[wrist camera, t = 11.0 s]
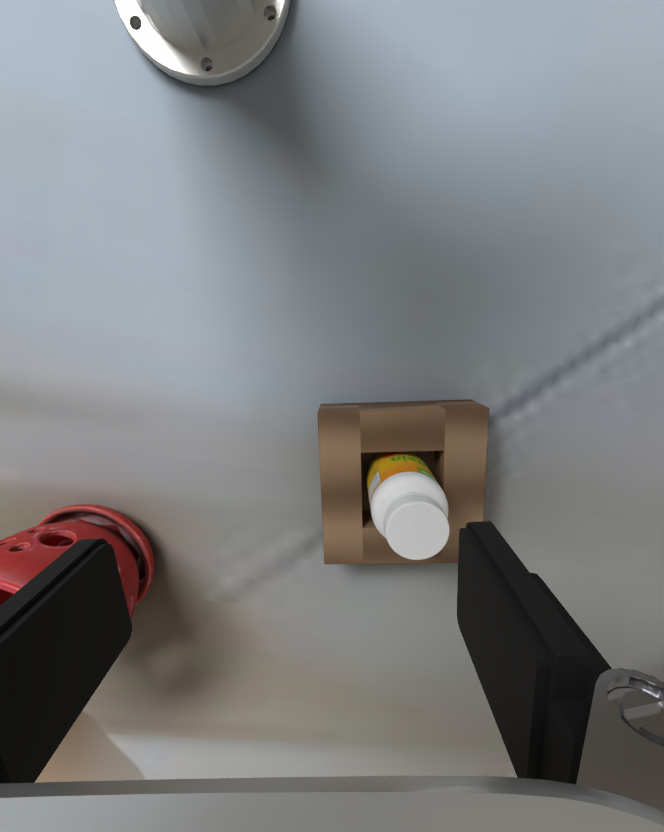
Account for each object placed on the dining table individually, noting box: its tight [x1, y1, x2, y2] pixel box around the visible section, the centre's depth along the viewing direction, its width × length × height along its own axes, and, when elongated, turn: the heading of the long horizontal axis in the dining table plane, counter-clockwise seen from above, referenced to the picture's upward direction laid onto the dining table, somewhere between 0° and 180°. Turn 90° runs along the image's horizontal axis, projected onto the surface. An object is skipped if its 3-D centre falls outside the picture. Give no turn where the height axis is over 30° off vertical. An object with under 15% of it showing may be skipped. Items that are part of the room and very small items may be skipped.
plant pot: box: [0, 505, 154, 619], centre depth 30 cm, size 13×13×12 cm
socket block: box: [318, 400, 489, 564], centre depth 31 cm, size 13×13×4 cm
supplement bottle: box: [366, 451, 449, 560], centre depth 27 cm, size 5×5×10 cm
